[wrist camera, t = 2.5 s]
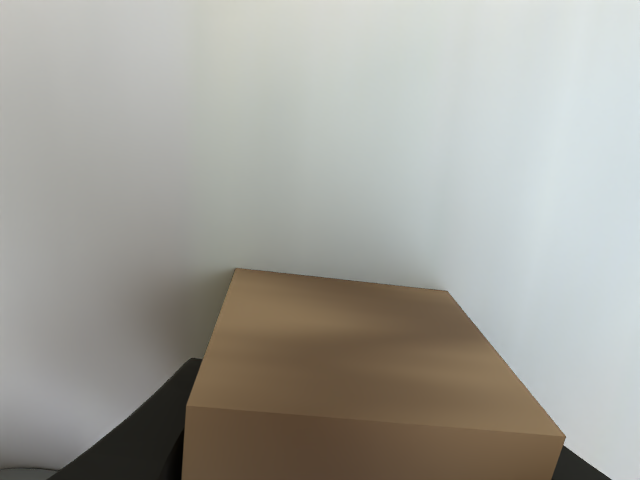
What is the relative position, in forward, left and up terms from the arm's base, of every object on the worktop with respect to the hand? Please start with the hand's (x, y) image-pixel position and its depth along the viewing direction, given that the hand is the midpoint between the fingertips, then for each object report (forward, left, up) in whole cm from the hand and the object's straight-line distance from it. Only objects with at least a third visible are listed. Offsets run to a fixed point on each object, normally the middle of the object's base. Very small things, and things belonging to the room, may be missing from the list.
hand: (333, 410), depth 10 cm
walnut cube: (0, 0, -2) cm, 2 cm away
